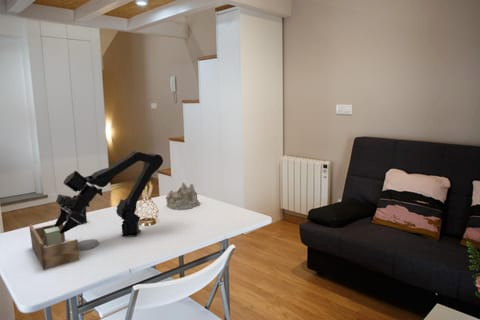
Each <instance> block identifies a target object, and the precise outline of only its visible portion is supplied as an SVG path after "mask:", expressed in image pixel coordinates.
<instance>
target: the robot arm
mask: <svg viewBox="0 0 480 320" xmlns="http://www.w3.org/2000/svg"><path fill="white" fill-rule="evenodd" d="M137 162H143V167H142V171H141V172H140V174H139V176H138V178H137V179H136V181H135V183H134V185H133V187H132V189H131V190H130V192H129V193H128V196H127V197H126V198H125V199H123V198H121V199H120V200H119V203H118V205H116V210H115V211H116V214H117V216H118V217H120V218H121V220H123V221H122V222H121V223H122V224H121V233H122V235H121V236H122V237H137V236H138V235H139V234H140V232H141V229H140V224H139V222H140V218H141V216H139V215H138V214H136V212H137V205H138V201H139V199H140V198H141V195H142V194H143V193H144V190H145V188H146V186H147V185H148V183H149V181H150V180H151V178H152V176H153V174H155V172H157V171H158V170H159V169H160V168H161V166H162V165H163V163H164V159H163V157H162V155H160V154H158V153H154V152H151V153H143V152H141V151H137V150H134V151H132V152H131V153H130V154H128V155H126V156H125V157H124V158H122V159H121V160H119V161H117V162H115V163H114V164H112V165H110V166H108V167H106V168H105V167H104V168H102V169H100V170H97V171H95V172H93V173H92V174H91V175H87V176H83V175H82V174H80V172H78V171H77V170H74V171H73V172H71V173H70V174H69V175H67V176H66V177H65V179H64V180H63V185H65V186H66V187H68V188H69V189H71V190H72V191H74V192H75V193H77V192H78V194H77V195H76V194H75V195H73V196H70V195H69V196H68V195H63V194H58V195H57V197H56V200H55V203H56V204H57V205H59V208H58V209H59V216H58V217H57V219H56V221H55V223H54V224H55V227H58V226H60V225H61V224H63V227H62V229H61V230H60V233H61V234H63V233H64V234H65V233H66V232H68V231H70V230H72V229H74V228H76V227H77V226H81V225H84V224H85V223H84V222H85V221H86V218H85V217H84V216H83V215H82V214H83V213H82V212H83V210H84V209H85V208H86V209H87V207H88V208H89V207H90V203H91V202H92V201H93V200H94V198H95V197H96V196H97V195H99V196H101V197H102V196H104V195H103V189H102V188H104V187H107V186H108V185H109V184H110V183H111V182H112V181H113V180H114V179H115V177H116V176H117V175H119V174H120V173H122V172H124V171H125V170H127V169H128V168H130V167H131V166H133V165H134V164H136V163H137ZM89 184H90V185H89ZM96 186H97V187H96ZM80 223H81V224H80Z"/></svg>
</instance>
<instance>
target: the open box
mask: <svg viewBox="0 0 480 320" xmlns="http://www.w3.org/2000/svg"><path fill="white" fill-rule="evenodd" d="M55 224H56V223H54V224H53V223H52V224H49V225H44V226H41V227H35V226H34V225H33V224H29V227H28V228H29V232H30V233H29V234H30V241H31V248H32V250H33V252H34V254H35V255H36V257H37V260H38V262H39V264H40V265H41V268H42V270H47V269H51V268H55V267H58V266H61V265H62V266H63V265H65V264H69V263H73V262H76V261H79V260H80V259H81V257H80V250H79V248H78V242H79V241H78V239H73V240H68V241H66V235H65V232H64V233H63V234H61V239H62V243H59V244H55V245H51V246H47V247H46V242H45V234H44V229H49V228H53V227H55ZM63 225H64V223H63V224H61V225H60V226H58V228H59V229H60V230H61V229H62V227H63Z"/></svg>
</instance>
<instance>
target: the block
mask: <svg viewBox="0 0 480 320" xmlns="http://www.w3.org/2000/svg"><path fill="white" fill-rule="evenodd" d="M44 234H45V242H46V245H45V247H47V246H51V245H55V244H59V243H63V241H62V239H61V233H60V229H59V228H58V227H53V228H49V229H44Z"/></svg>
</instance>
